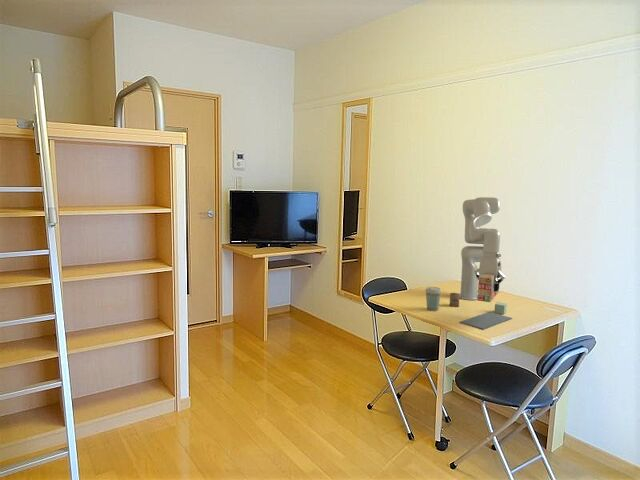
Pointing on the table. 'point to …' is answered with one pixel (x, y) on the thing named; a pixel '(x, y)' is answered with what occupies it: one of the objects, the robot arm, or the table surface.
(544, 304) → the table surface
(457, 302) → the walnut cylinder
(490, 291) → the stack of blocks
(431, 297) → the coffee cup
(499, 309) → the sage cube
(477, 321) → the charcoal mat
